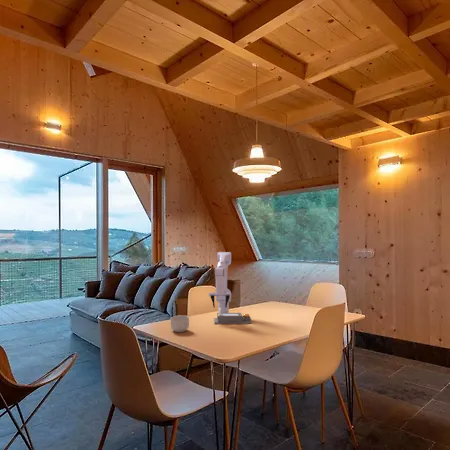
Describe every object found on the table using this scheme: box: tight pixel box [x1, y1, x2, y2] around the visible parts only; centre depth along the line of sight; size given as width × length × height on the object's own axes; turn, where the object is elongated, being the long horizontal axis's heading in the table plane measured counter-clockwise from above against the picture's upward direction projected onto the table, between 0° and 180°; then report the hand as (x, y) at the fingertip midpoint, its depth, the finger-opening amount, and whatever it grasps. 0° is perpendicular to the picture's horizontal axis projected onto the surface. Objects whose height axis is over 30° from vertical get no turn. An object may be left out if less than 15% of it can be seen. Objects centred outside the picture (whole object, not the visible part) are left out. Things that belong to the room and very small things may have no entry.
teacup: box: [169, 314, 190, 333], centre depth 216 cm, size 14×11×8 cm
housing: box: [213, 312, 252, 325], centre depth 238 cm, size 12×23×5 cm, turn 94°
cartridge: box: [218, 308, 238, 316], centre depth 238 cm, size 6×13×7 cm, turn 94°
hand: (220, 307), depth 238 cm, fingers open, 7 cm apart
